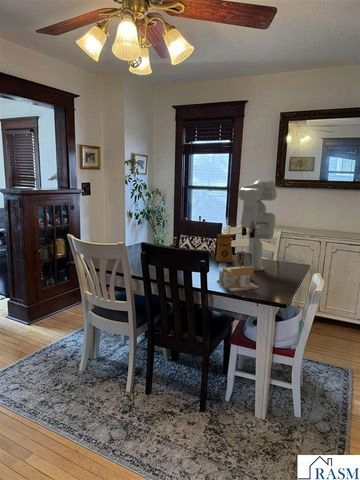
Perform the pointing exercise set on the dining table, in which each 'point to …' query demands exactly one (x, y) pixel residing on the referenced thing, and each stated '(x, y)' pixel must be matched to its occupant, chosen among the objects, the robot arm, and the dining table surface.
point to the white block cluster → (235, 281)
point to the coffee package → (224, 248)
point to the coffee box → (243, 259)
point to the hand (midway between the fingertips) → (248, 236)
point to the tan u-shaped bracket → (240, 271)
